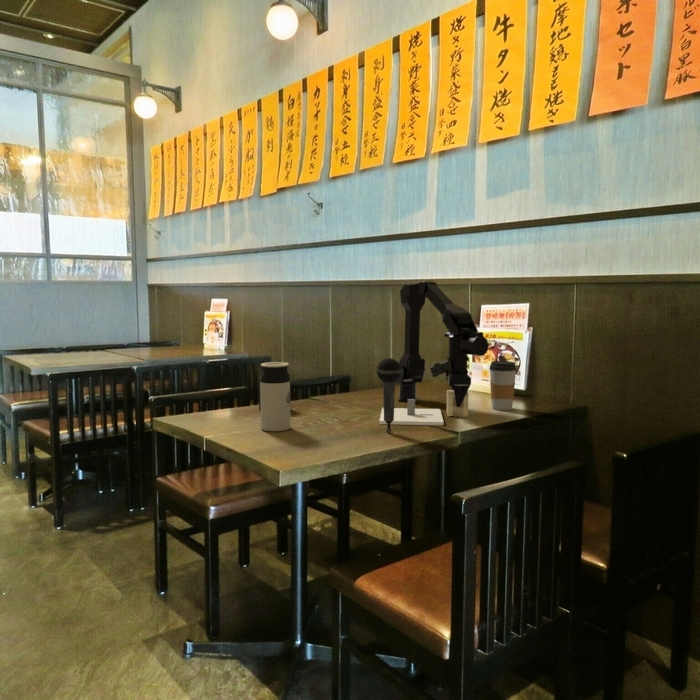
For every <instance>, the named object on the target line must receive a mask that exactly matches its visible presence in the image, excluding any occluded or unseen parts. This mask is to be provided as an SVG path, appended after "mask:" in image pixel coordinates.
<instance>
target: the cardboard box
mask: <svg viewBox="0 0 700 700" xmlns="http://www.w3.org/2000/svg"><path fill="white" fill-rule="evenodd" d="M445 413H446V415H447V417H449V416H454V417H455V418H456V417H457V416H458V417H459V418H462V417H463V418H468V417H469V392H468V391H467V393H466V395H465V397H464V400H463V402H462V404H461V406H460V407H457V406H456V400H455V394H454V390H452V389H447V390H446V412H445ZM458 417H457V418H458Z"/></svg>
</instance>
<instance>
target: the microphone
mask: <svg viewBox="0 0 700 700" xmlns="http://www.w3.org/2000/svg"><path fill="white" fill-rule="evenodd" d="M399 362H400V361H399ZM399 362H398V361H397V360H396V359H395V358H391V357H389V358H388V357H386V358H383V359H382V360H381V361H379V363H378V364H377V366H376V369H375V372H376V375H377V376H378V378H379V380H380V381H382V393H383V395H382V396H383V400H382V401H383V408H384V421H386V423H388V424H387V428H386V433H387V434H391V433H392V429H391V424H390V423H392V421H394V408H395V399H396V397H395V394H396V383H395V381H397V380H398V379H399V378H400V376H401V373H402V369H401V366H400V364H399Z"/></svg>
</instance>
